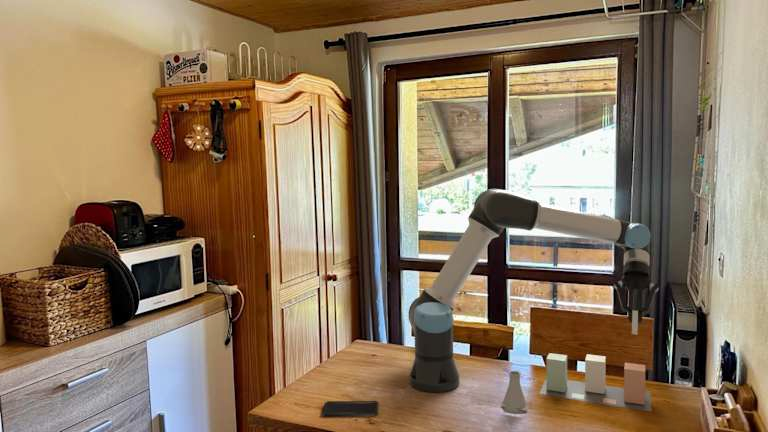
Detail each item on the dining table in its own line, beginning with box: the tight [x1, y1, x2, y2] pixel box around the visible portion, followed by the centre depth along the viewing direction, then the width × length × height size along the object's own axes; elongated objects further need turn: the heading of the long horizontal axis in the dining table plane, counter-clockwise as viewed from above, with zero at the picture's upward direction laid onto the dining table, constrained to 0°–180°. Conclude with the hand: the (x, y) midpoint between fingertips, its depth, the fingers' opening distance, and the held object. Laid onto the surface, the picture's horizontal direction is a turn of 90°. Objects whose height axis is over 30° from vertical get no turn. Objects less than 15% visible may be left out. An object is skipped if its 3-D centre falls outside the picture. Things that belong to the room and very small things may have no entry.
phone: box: [321, 400, 379, 418], centre depth 142 cm, size 8×1×15 cm
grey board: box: [539, 378, 652, 412], centre depth 146 cm, size 28×13×2 cm, turn 64°
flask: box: [500, 370, 528, 415], centre depth 141 cm, size 7×7×10 cm
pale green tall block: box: [545, 352, 568, 392], centre depth 149 cm, size 5×5×9 cm
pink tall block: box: [623, 362, 646, 405], centre depth 140 cm, size 5×5×9 cm
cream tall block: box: [584, 353, 607, 394], centre depth 147 cm, size 5×5×9 cm
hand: (634, 332), depth 154 cm, fingers closed
